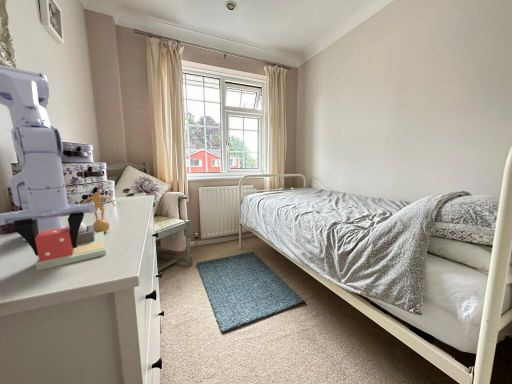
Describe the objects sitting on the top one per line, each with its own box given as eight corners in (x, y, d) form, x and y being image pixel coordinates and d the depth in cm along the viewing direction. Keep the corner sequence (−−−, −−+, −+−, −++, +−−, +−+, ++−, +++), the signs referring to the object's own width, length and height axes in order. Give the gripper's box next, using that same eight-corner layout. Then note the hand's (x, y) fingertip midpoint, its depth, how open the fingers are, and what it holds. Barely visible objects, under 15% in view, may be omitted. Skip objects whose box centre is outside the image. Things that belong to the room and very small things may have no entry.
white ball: (66, 238, 53) (63, 221, 52) (88, 234, 55) (85, 218, 55) (64, 243, 49) (61, 225, 49) (87, 238, 52) (85, 222, 51)
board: (50, 245, 53) (50, 240, 52) (104, 235, 59) (103, 230, 59) (36, 270, 40) (35, 264, 40) (105, 254, 47) (105, 249, 47)
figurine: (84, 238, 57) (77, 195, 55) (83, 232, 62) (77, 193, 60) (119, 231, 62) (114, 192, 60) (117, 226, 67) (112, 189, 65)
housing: (60, 239, 53) (59, 230, 53) (94, 233, 57) (93, 225, 57) (56, 248, 48) (54, 238, 47) (94, 241, 52) (93, 231, 51)
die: (44, 252, 45) (40, 230, 44) (74, 246, 48) (71, 225, 47) (39, 262, 41) (34, 237, 40) (72, 255, 44) (68, 231, 43)
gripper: (-19, 194, 35) (-1, 268, 37) (91, 186, 43) (99, 247, 46) (-3, 189, 40) (12, 254, 43) (91, 183, 49) (99, 237, 51)
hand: (57, 250), depth 44 cm, fingers closed on die, 5 cm apart
